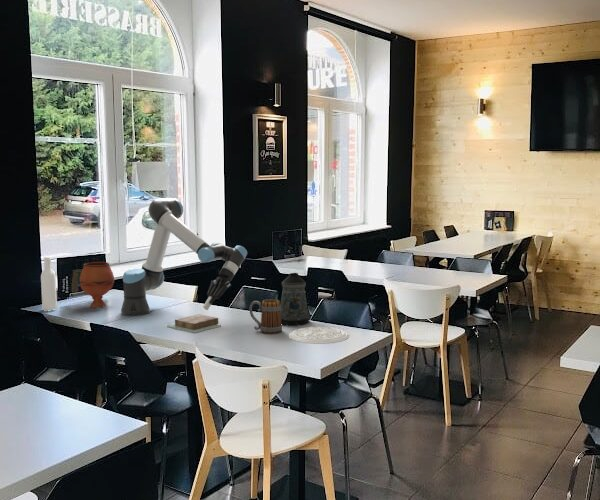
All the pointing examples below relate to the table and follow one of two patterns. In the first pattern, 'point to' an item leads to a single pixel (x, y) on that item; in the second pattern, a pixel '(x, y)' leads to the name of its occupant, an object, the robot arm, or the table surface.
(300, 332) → the ceiling medallion
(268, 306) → the mug
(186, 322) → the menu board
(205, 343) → the table surface
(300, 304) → the beer stein
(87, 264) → the goblet
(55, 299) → the bottle
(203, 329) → the mat
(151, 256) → the robot arm
